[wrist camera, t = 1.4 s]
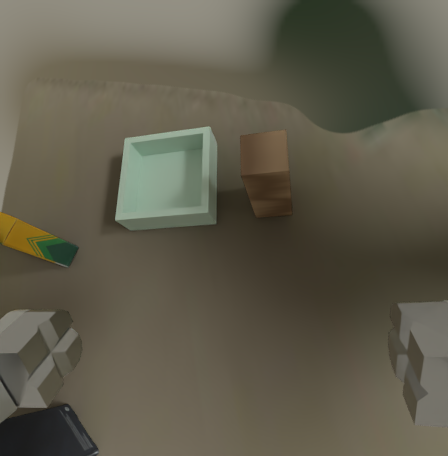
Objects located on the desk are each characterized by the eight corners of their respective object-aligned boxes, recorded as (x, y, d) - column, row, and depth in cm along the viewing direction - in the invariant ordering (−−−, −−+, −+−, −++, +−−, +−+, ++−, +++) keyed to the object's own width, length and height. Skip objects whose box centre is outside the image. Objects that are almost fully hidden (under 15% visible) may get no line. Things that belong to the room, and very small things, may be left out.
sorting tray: (217, 143, 41) (209, 126, 38) (216, 224, 38) (208, 212, 34) (138, 154, 43) (124, 138, 40) (130, 230, 40) (115, 220, 36)
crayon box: (80, 246, 41) (1, 211, 30) (69, 268, 40) (-16, 241, 29) (38, 229, 43) (-49, 191, 32) (26, 250, 42) (-67, 219, 32)
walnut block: (289, 182, 37) (286, 129, 28) (292, 214, 36) (289, 170, 27) (255, 185, 38) (240, 135, 29) (256, 217, 37) (241, 175, 28)
